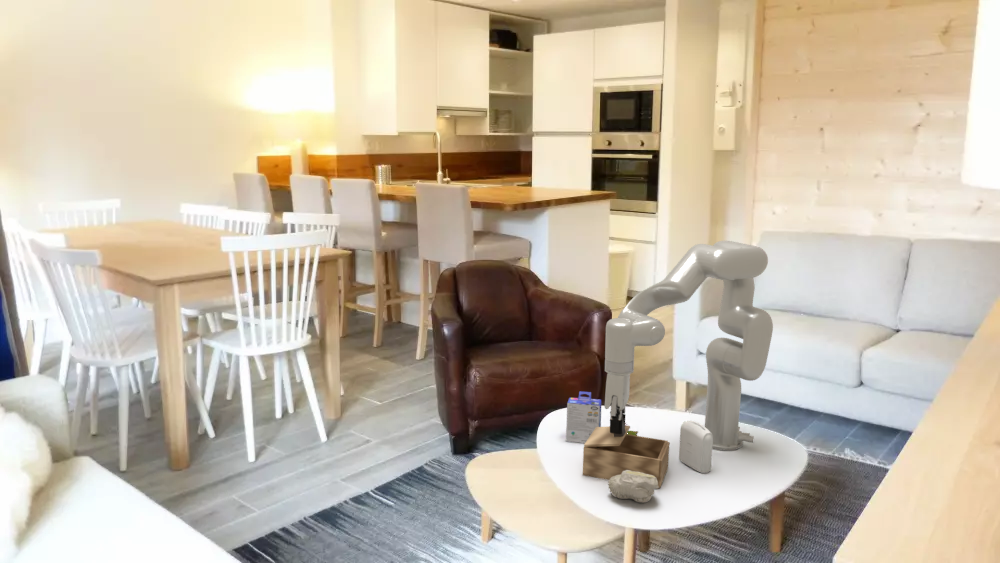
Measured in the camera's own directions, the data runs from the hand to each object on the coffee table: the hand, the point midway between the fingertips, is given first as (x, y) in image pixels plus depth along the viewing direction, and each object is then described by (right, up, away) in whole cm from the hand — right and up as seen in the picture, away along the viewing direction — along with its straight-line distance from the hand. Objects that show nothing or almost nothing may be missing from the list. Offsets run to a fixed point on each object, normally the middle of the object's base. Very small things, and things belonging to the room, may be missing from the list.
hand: (617, 429), depth 202 cm
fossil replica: (+2, -15, -13) cm, 20 cm away
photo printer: (+22, -11, +5) cm, 25 cm away
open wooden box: (+2, -12, +1) cm, 12 cm away
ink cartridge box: (-7, -7, +22) cm, 24 cm away
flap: (-2, -2, +1) cm, 4 cm away
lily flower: (+5, -7, +25) cm, 26 cm away
